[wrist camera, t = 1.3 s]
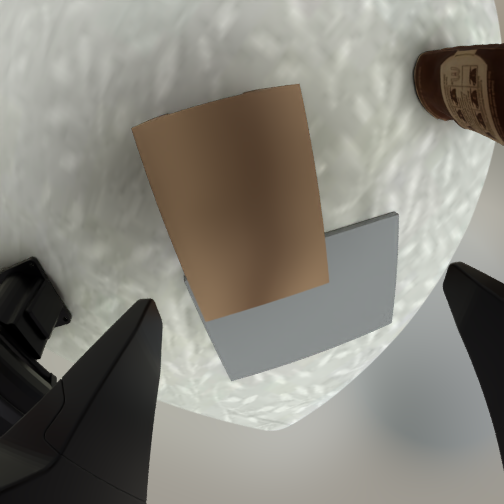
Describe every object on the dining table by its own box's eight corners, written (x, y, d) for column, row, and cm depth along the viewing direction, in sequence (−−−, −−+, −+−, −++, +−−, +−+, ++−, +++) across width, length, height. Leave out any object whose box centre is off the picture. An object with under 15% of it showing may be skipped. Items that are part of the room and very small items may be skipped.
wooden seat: (198, 253, 22) (205, 322, 15) (152, 118, 16) (131, 128, 10) (287, 226, 22) (329, 282, 16) (258, 89, 17) (299, 83, 11)
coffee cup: (424, 149, 21) (552, 207, 10) (383, 60, 17) (538, 67, 6) (475, 107, 20) (587, 144, 9) (444, 28, 16) (569, 34, 5)
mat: (230, 376, 29) (231, 381, 28) (184, 276, 22) (184, 281, 22) (388, 319, 30) (391, 322, 29) (394, 211, 23) (398, 214, 23)
